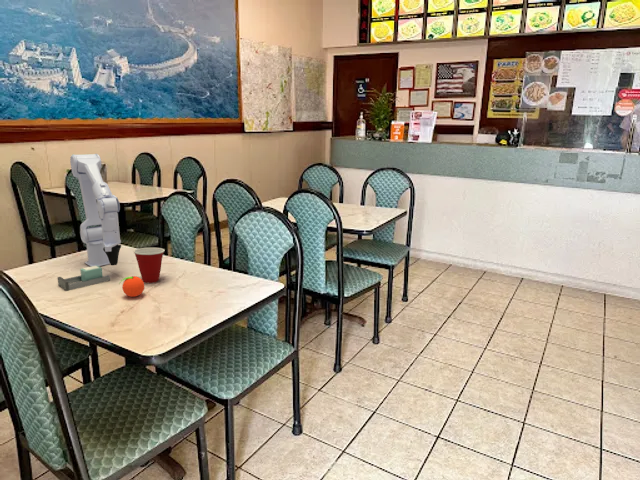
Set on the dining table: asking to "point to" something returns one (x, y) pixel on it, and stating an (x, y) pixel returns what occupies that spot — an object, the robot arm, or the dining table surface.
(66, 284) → the rail
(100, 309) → the dining table surface
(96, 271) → the module
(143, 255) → the plastic cup
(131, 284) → the clementine
